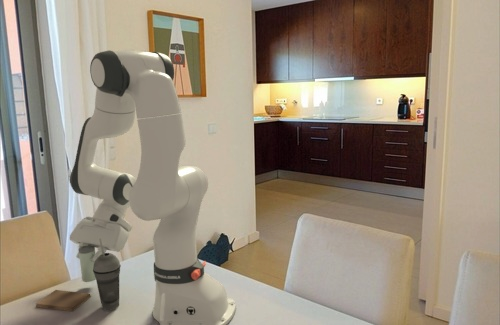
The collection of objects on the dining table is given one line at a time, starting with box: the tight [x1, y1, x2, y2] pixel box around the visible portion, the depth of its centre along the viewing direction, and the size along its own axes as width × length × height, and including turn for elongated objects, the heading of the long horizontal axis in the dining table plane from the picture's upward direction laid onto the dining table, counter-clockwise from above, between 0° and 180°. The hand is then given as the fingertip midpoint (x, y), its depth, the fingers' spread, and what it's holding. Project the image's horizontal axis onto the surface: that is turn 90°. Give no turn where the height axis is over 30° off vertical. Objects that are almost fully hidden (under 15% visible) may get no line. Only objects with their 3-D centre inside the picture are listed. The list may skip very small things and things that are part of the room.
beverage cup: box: [93, 238, 122, 312], centre depth 111 cm, size 7×7×20 cm
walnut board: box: [35, 289, 92, 312], centre depth 116 cm, size 12×8×1 cm, turn 76°
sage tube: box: [78, 245, 96, 283], centre depth 124 cm, size 5×5×10 cm
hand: (86, 259), depth 123 cm, fingers closed on sage tube, 4 cm apart
